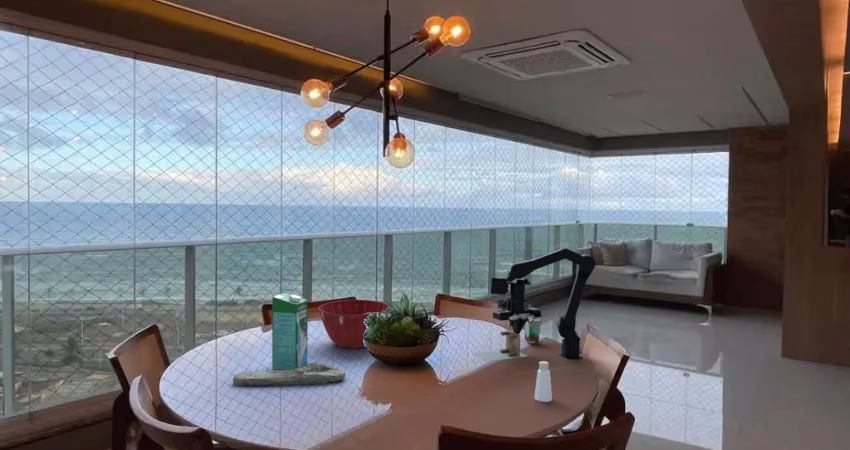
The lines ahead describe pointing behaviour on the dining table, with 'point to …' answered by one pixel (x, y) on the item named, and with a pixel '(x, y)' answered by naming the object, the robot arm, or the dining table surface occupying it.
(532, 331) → the food container
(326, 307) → the mixing bowl
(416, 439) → the dining table surface
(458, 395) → the dining table surface
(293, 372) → the elongated rock
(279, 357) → the milk carton
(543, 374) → the pepper shaker
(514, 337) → the stool
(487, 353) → the mat
